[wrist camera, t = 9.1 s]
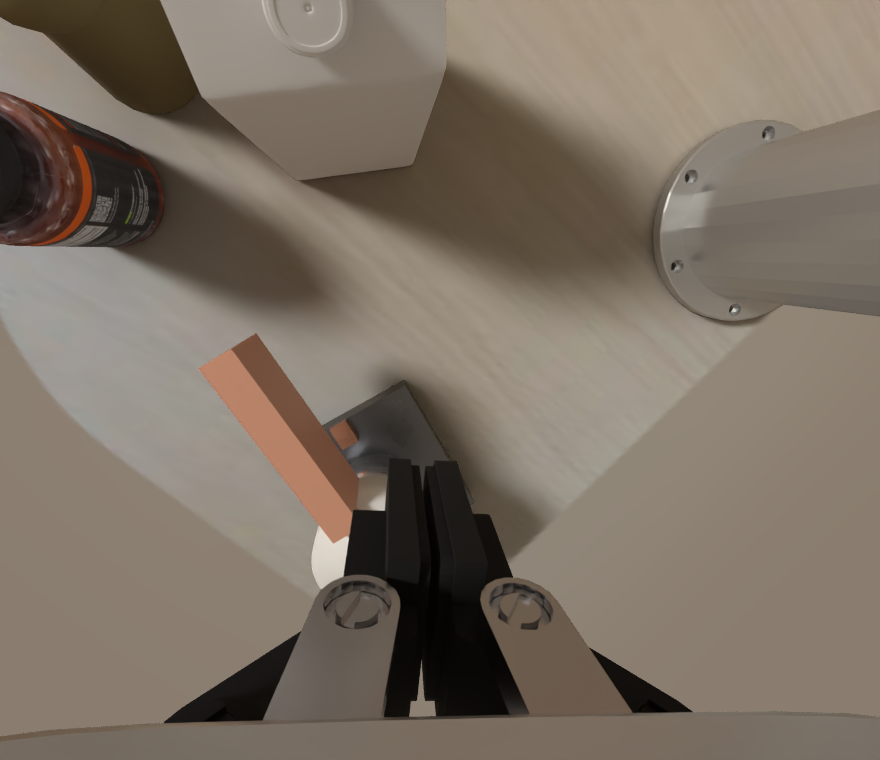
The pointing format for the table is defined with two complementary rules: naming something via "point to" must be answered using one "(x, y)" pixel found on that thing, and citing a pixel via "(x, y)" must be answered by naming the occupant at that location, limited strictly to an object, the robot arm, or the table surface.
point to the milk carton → (318, 76)
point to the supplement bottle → (71, 182)
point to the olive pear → (115, 47)
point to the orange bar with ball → (296, 449)
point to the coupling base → (387, 434)
